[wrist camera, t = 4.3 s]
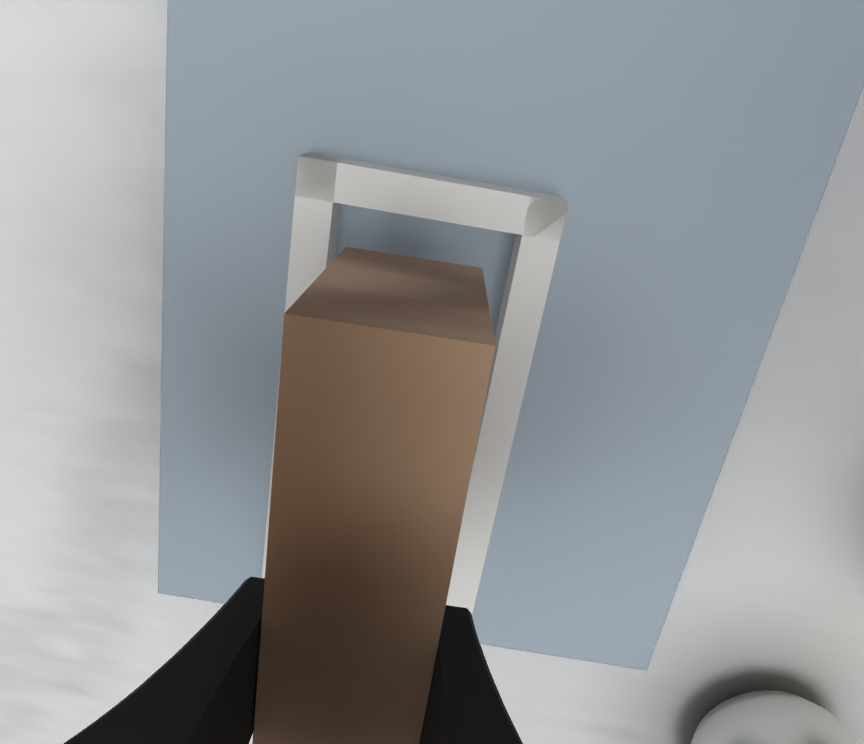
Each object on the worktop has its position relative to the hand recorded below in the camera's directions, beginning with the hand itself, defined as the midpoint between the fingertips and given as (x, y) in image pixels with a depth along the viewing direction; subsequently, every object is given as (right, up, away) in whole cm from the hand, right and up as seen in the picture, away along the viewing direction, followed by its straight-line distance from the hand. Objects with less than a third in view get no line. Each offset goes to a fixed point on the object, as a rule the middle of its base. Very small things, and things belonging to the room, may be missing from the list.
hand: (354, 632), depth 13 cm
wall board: (+3, +10, +7) cm, 12 cm away
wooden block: (0, +2, +4) cm, 4 cm away
